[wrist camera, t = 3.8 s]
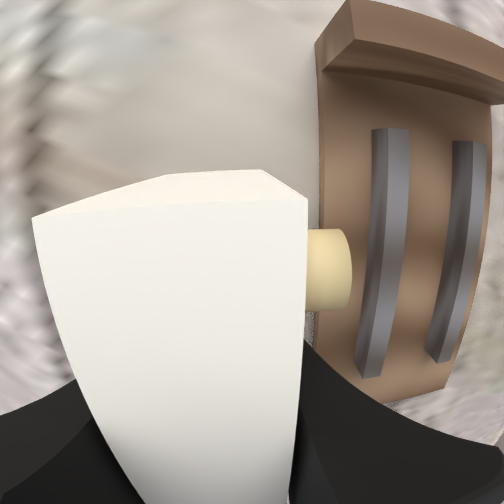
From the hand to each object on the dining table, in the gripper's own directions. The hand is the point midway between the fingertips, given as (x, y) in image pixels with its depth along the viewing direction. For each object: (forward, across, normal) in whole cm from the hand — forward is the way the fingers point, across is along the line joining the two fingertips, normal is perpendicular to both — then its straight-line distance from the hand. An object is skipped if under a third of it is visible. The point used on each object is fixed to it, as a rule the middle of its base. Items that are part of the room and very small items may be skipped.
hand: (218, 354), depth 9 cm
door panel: (+2, 0, 0) cm, 2 cm away
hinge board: (+9, -11, 0) cm, 14 cm away
